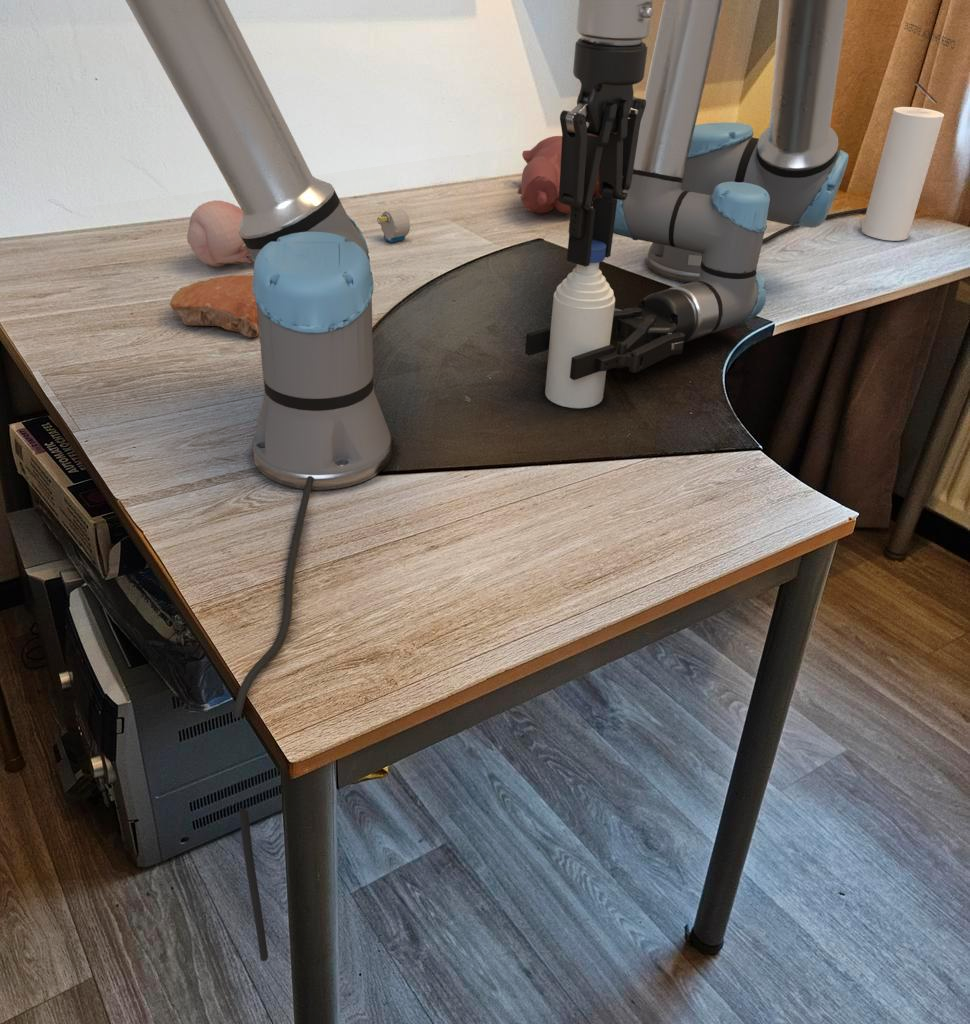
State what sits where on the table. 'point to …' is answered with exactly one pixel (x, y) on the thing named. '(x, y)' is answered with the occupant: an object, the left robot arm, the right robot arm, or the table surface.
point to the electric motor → (394, 225)
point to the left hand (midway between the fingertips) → (588, 258)
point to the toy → (217, 234)
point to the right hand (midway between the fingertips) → (550, 356)
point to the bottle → (578, 335)
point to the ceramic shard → (219, 304)
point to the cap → (597, 251)
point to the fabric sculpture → (544, 177)
